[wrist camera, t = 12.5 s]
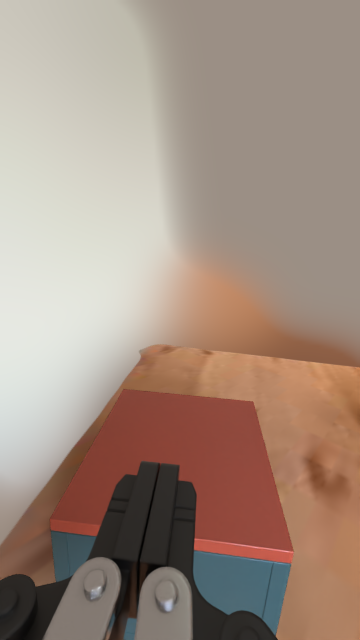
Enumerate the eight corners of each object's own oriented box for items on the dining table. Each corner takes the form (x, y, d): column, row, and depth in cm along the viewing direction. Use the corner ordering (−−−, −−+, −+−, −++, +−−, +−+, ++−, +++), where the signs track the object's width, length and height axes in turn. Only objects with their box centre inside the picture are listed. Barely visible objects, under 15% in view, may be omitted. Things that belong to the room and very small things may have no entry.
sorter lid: (123, 396, 32) (123, 388, 32) (252, 408, 31) (253, 401, 30) (50, 530, 17) (48, 518, 17) (291, 564, 16) (294, 552, 16)
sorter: (121, 468, 34) (121, 400, 31) (243, 483, 32) (253, 413, 30) (60, 631, 20) (50, 531, 17) (269, 666, 19) (291, 564, 16)
